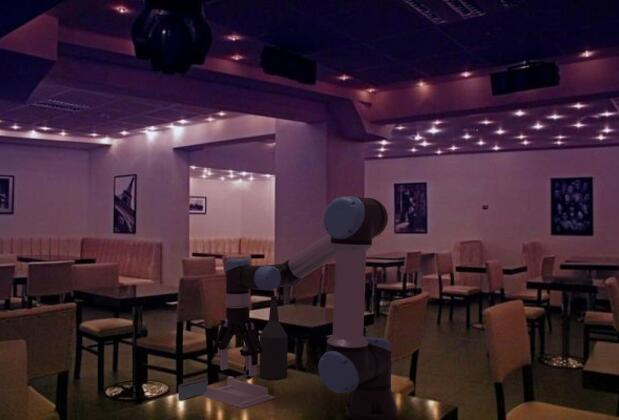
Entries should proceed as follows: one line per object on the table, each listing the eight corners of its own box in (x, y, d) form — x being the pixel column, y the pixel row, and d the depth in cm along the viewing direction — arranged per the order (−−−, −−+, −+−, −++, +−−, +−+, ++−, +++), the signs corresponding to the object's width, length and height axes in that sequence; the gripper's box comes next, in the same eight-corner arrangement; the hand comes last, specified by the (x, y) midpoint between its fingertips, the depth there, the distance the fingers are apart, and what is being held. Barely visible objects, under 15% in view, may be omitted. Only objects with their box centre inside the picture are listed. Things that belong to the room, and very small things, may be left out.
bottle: (288, 374, 214) (288, 294, 215) (286, 381, 205) (287, 297, 205) (260, 373, 214) (261, 294, 215) (258, 380, 205) (258, 297, 206)
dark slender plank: (207, 392, 188) (208, 378, 188) (180, 400, 180) (181, 385, 180) (205, 391, 189) (205, 378, 189) (178, 399, 181) (178, 385, 181)
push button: (254, 381, 178) (252, 349, 178) (237, 381, 179) (236, 349, 179) (258, 375, 184) (257, 344, 185) (243, 376, 185) (241, 345, 186)
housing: (275, 398, 184) (275, 387, 184) (242, 408, 173) (242, 397, 173) (230, 385, 198) (230, 376, 198) (197, 395, 187) (197, 384, 187)
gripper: (273, 307, 180) (274, 375, 179) (221, 302, 196) (221, 364, 195) (256, 310, 174) (257, 380, 173) (204, 304, 190) (204, 369, 189)
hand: (238, 372), depth 184 cm, fingers open, 13 cm apart
